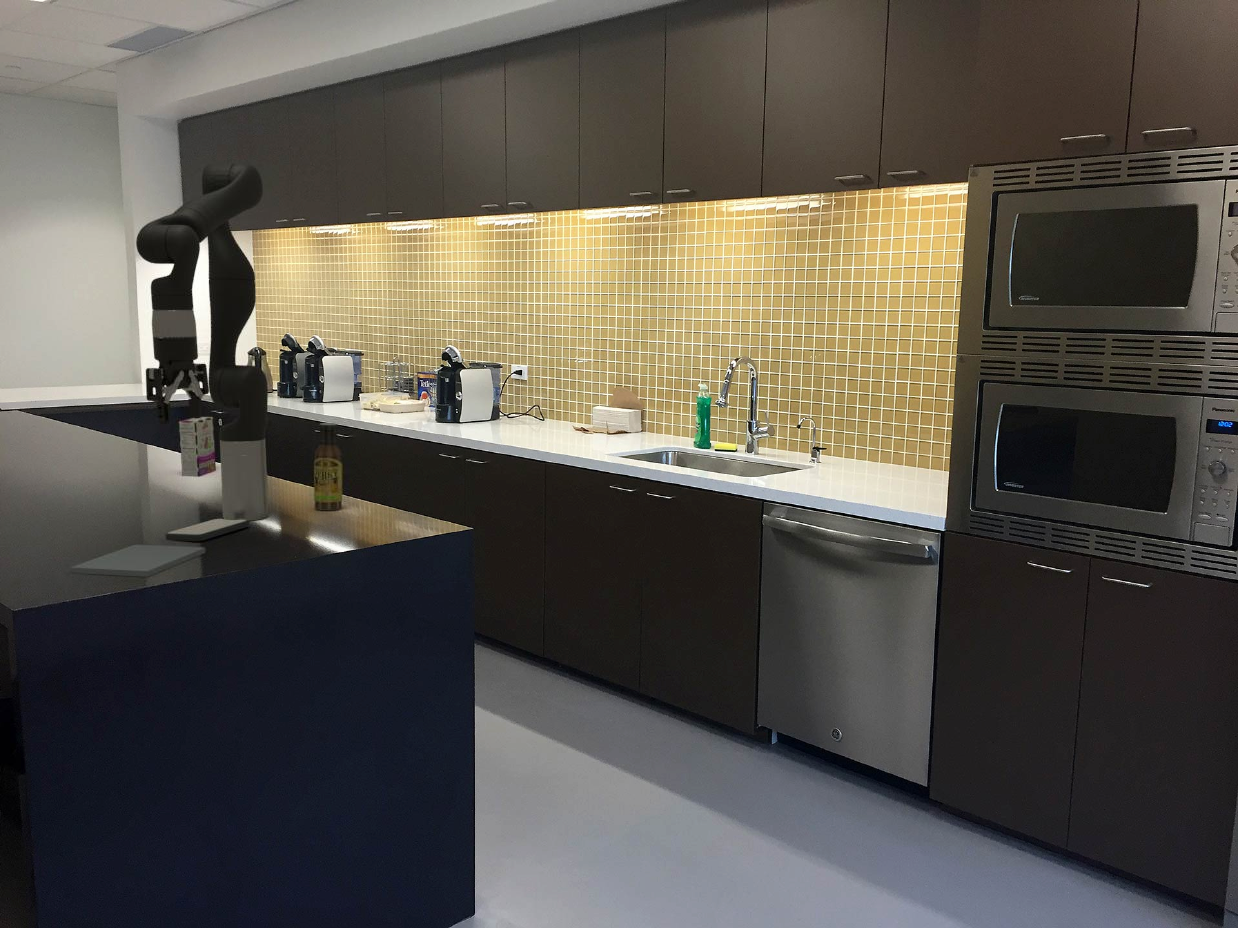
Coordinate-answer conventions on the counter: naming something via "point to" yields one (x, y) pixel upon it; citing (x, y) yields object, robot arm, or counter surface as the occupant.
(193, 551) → the mat
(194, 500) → the counter surface
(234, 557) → the counter surface
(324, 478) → the sauce bottle
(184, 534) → the smartphone
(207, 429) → the candy bar box
